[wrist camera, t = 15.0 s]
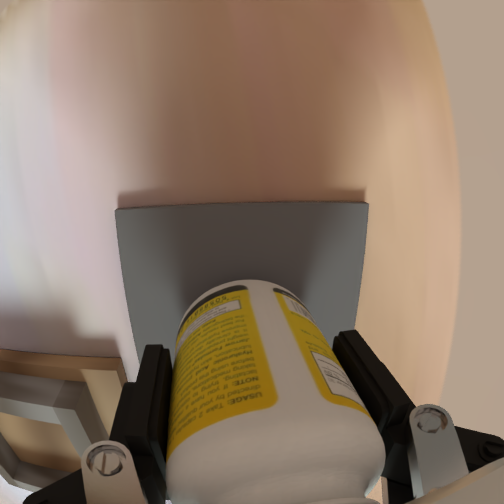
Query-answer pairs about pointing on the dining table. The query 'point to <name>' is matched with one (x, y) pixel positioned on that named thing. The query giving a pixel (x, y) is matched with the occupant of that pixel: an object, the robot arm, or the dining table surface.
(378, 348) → the dining table surface
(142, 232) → the mat
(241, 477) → the supplement bottle
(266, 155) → the dining table surface
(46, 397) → the block
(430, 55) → the dining table surface
